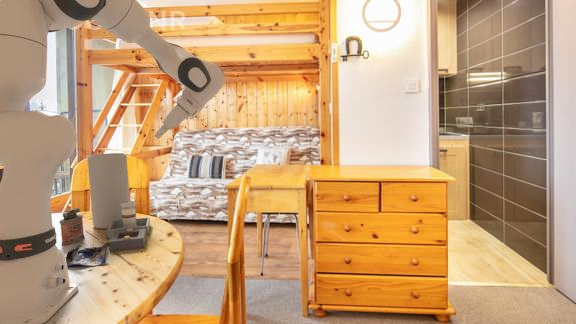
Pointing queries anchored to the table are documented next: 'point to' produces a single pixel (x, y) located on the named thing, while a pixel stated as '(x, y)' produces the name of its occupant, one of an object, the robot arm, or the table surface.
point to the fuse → (128, 214)
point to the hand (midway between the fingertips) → (156, 136)
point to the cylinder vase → (108, 187)
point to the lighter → (71, 227)
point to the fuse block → (128, 240)
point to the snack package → (88, 255)
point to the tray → (118, 224)
